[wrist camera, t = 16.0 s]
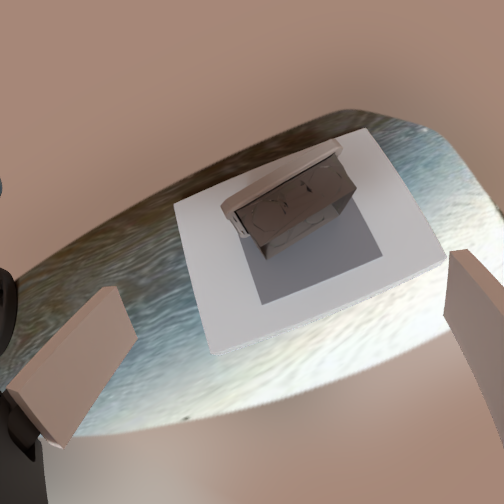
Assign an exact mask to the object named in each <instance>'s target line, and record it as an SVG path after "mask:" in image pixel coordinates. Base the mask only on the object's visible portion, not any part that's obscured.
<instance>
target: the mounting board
mask: <svg viewBox="0 0 504 504" xmlns="http://www.w3.org/2000/svg"><path fill="white" fill-rule="evenodd" d="M334 139H336V140H337V141H338V142H339V143H340V145H341V146H342V147H343V150H342V152H341V154H340V155H338V160H339V161H340V162H341V164H342V165H343V167H344V169H345V171H346V173H347V175H348V176H349V178H350V179H351V180H352V182H353V183H354V184H355V186H356V187H357V189H356V191H355V192H354V194H353V195H352V197H351V199H350V200H349V202H348V203H347V205H346V206H345V208H344V209H343V211H342V213H341V214H340V215H339V214H338V215H339V216H338V217H336V218H335V219H333V220H332V221H330V222H328V223H327V224H325V225H323V226H322V227H320V228H319V229H317V230H315V231H314V232H312V233H311V234H309V235H307V236H306V237H304V238H302V239H301V240H299V241H298V242H296V243H294V244H293V245H291V246H289V247H288V248H286V249H285V250H283V251H281V252H280V253H278V254H276V255H275V256H273V257H271V258H270V259H268V260H267V259H265V258H264V256H263V255H262V254H261V252H260V250H259V249H258V248H257V246H256V244H255V243H254V241H253V239H252V238H251V236H248V237H247V238H241V237H240V235H239V234H238V232H237V231H236V229H235V228H234V226H233V225H232V223H231V222H230V220H227V219H226V217H225V215H224V213H223V211H222V209H221V207H220V206H221V204H222V203H223V202H224V201H225V199H227V198H229V197H230V196H232V195H234V194H235V193H237V192H239V191H240V190H242V189H244V188H245V187H247V186H249V185H250V184H252V183H254V182H255V181H257V180H259V179H261V178H262V177H264V176H266V175H267V174H269V173H271V172H273V171H274V170H276V169H278V168H279V167H281V166H283V165H285V164H286V163H288V162H290V161H292V160H294V159H295V158H297V157H299V156H301V155H302V154H304V153H306V152H308V151H310V150H311V149H313V148H315V147H317V146H319V145H320V144H322V143H320V144H317V145H315V146H312V147H309V148H307V149H304V150H301V151H299V152H296V153H293V154H291V155H288V156H286V157H283V158H280V159H278V160H275V161H273V162H270V163H268V164H265V165H263V166H260V167H258V168H255V169H253V170H250V171H248V172H246V173H243V174H241V175H238V176H236V177H234V178H231V179H229V180H227V181H224V182H222V183H220V184H217V185H215V186H213V187H210V188H208V189H206V190H204V191H201V192H199V193H197V194H195V195H192V196H190V197H188V198H186V199H184V200H181V201H179V202H177V203H175V204H174V209H175V214H176V218H177V223H178V227H179V232H180V236H181V240H182V245H183V249H184V253H185V258H186V262H187V266H188V270H189V274H190V278H191V282H192V286H193V290H194V294H195V298H196V302H197V305H198V309H199V313H200V317H201V320H202V324H203V328H204V331H205V335H206V339H207V342H208V346H209V349H210V353H211V354H213V355H218V356H220V355H223V354H226V353H229V352H232V351H235V350H238V349H241V348H244V347H247V346H249V345H252V344H255V343H258V342H261V341H264V340H266V339H269V338H272V337H275V336H277V335H280V334H283V333H285V332H288V331H291V330H293V329H296V328H299V327H301V326H304V325H306V324H309V323H311V322H314V321H317V320H319V319H322V318H324V317H327V316H329V315H331V314H334V313H336V312H339V311H341V310H344V309H346V308H348V307H351V306H353V305H355V304H358V303H360V302H362V301H365V300H367V299H369V298H372V297H374V296H376V295H378V294H381V293H383V292H385V291H387V290H389V289H392V288H394V287H396V286H398V285H400V284H402V283H405V282H407V281H409V280H411V279H413V278H415V277H417V276H419V275H421V274H423V273H425V272H427V271H430V270H432V269H434V268H436V267H438V266H440V265H441V264H442V263H443V262H444V260H445V259H446V258H447V256H446V254H445V252H444V250H443V248H442V247H441V245H440V243H439V241H438V239H437V237H436V235H435V234H434V232H433V230H432V228H431V226H430V225H429V223H428V221H427V219H426V218H425V216H424V214H423V213H422V211H421V209H420V208H419V206H418V204H417V203H416V201H415V199H414V198H413V196H412V194H411V193H410V191H409V190H408V188H407V186H406V185H405V183H404V182H403V180H402V179H401V177H400V176H399V174H398V173H397V171H396V170H395V168H394V167H393V165H392V164H391V162H390V161H389V159H388V158H387V156H386V155H385V154H384V152H383V151H382V149H381V148H380V146H379V145H378V144H377V142H376V141H375V139H374V138H373V137H372V135H371V134H370V133H369V131H368V130H367V129H366V128H363V129H360V130H357V131H354V132H351V133H348V134H345V135H343V136H340V137H337V138H334ZM323 143H324V142H323ZM334 209H335V208H334ZM335 210H336V209H335ZM336 212H337V211H336ZM337 213H338V212H337ZM304 221H305V220H304ZM305 222H306V221H305ZM314 224H315V223H314ZM312 225H313V224H312ZM288 232H289V231H288Z"/></svg>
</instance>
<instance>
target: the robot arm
mask: <svg viewBox="0 0 504 504" xmlns="http://www.w3.org/2000/svg"><path fill="white" fill-rule="evenodd" d="M1 193H2V182H1V179H0V196H1ZM16 308H17V295H16V287H15V283H14V280H13V278H12V276H11V274H10V273H9V272H8V271H6V270H4V269H2V268H0V356H1V355H2V353H3V352H4V351H5V349H6V347H7V345H8V343H9V341H10V338H11V335H12V332H13V328H14V323H15V317H16ZM443 316H444V318H445V319H446V321H447V323H448V325H449V327H450V329H451V330H452V332H453V334H454V336H455V338H456V340H457V342H458V344H459V345H460V348H461V350H462V352H463V354H464V355H465V358H466V360H467V362H468V364H469V366H470V368H471V370H472V372H473V374H474V376H475V379H476V381H477V383H478V385H479V387H480V390H481V392H482V394H483V396H484V399H485V401H486V403H487V406H488V408H489V410H490V413H491V415H492V418H493V420H494V423H495V425H496V428H497V431H498V433H499V436H500V439H501V441H502V444H503V447H504V287H503V286H502V285H501V284H500V283H499V282H498V280H497V279H496V278H495V277H494V276H493V275H492V274H491V273H490V272H489V271H488V270H487V269H486V268H485V267H484V266H483V265H482V264H481V262H480V261H479V260H478V259H477V258H476V257H475V256H474V255H473V254H472V253H471V252H470V251H469V250H468V249H464V250H457V251H450V255H449V269H448V280H447V290H446V299H445V307H444V314H443ZM137 339H138V338H137V336H136V333H135V331H134V329H133V327H132V324H131V322H130V319H129V317H128V315H127V312H126V310H125V307H124V305H123V302H122V300H121V297H120V295H119V292H118V290H117V287H116V286H110V287H102V288H101V289H100V290H99V291H98V292H97V293H96V294H95V295H94V296H93V297H92V298H91V299H90V300H89V301H88V302H87V303H86V304H85V305H84V306H83V307H82V308H81V309H80V310H79V311H78V312H77V313H76V314H75V315H74V316H73V317H72V318H71V319H70V320H69V321H68V322H67V323H66V324H65V325H64V326H63V327H62V328H61V329H60V330H59V331H58V332H57V333H56V334H55V335H54V336H53V337H52V338H51V339H50V340H49V341H48V342H47V343H46V344H45V345H44V346H43V347H42V348H41V349H40V350H39V351H38V353H37V354H36V355H35V356H34V357H33V358H32V359H31V360H30V361H29V362H28V363H27V364H26V365H25V367H24V368H23V369H22V370H21V371H20V372H19V373H18V374H17V375H16V376H15V378H14V379H13V380H12V381H11V382H10V383H9V384H8V385H7V387H6V390H5V391H4V392H3V393H1V391H0V504H48V500H47V493H46V484H45V476H44V465H43V453H42V445H41V442H40V441H39V440H38V436H39V435H40V433H41V435H42V436H43V437H44V438H45V439H46V440H47V441H48V443H49V444H51V445H53V446H56V447H58V448H61V449H64V448H65V447H66V445H67V443H68V442H69V441H70V439H71V437H72V436H73V434H74V433H75V431H76V430H77V428H78V427H79V425H80V423H81V422H82V420H83V419H84V417H85V416H86V414H87V413H88V411H89V410H90V408H91V407H92V405H93V404H94V402H95V401H96V399H97V398H98V396H99V395H100V393H101V392H102V390H103V389H104V387H105V386H106V384H107V383H108V381H109V380H110V378H111V377H112V375H113V374H114V372H115V371H116V369H117V368H118V366H119V365H120V364H121V362H122V361H123V359H124V358H125V356H126V355H127V353H128V352H129V351H130V349H131V348H132V346H133V345H134V343H135V342H136V340H137Z"/></svg>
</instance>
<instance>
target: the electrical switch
mask: <svg viewBox="0 0 504 504" xmlns="http://www.w3.org/2000/svg"><path fill="white" fill-rule="evenodd" d="M342 150H343V147H342V146H341V145H340V143H339V142H338V141H337V140H336V139H330V140H328V141H326V142H324V143H322V144H320V145H319V146H317V147H315V148H313V149H311V150H310V151H308V152H306V153H304V154H302V155H301V156H299V157H297V158H295V159H294V160H292V161H290V162H288V163H286V164H285V165H283V166H281V167H279V168H278V169H276V170H274V171H273V172H271V173H269V174H267V175H266V176H264V177H262V178H261V179H259V180H257V181H255V182H254V183H252V184H250V185H249V186H247V187H245V188H244V189H242V190H240V191H239V192H237V193H235V194H234V195H232V196H230V197H229V198H227V199H225V201H224V202H223V203H222V204H221V206H220V207H221V209H222V211H223V213H224V215H225V217H226V219H227V220H230V222H231V223H232V225H233V226H234V228H235V229H236V231H237V232H238V234H239V235H240V237H241V238H247V237H248V236H251V238H252V239H253V241H254V243H255V244H256V246H257V248H258V249H259V250H260V252H261V254H262V255H263V256H264V258H265V259H267V260H268V259H270V258H271V257H273V256H275V255H276V254H278V253H280V252H281V251H283V250H285V249H286V248H288V247H289V246H291V245H293V244H294V243H296V242H298V241H299V240H301V239H302V238H304V237H306V236H307V235H309V234H311V233H312V232H314V231H315V230H317V229H319V228H320V227H322V226H323V225H325V224H327V223H328V222H330V221H332V220H333V219H335V218H336V217H338V216H339V215H340V214H341V213H342V211H343V209H344V208H345V206H346V205H347V203H348V202H349V200H350V199H351V197H352V195H353V194H354V192H355V191H356V189H357V187H356V186H355V184H354V183H353V182H352V180H351V179H350V178H349V176H348V175H347V173H346V171H345V169H344V167H343V165H342V164H341V162H340V161H339V160H338V155H340V154H341V152H342ZM334 208H335V209H336V210H335V209H334ZM336 211H337V212H338V213H337V212H336ZM338 214H339V215H338ZM304 220H305V221H306V222H305V221H304ZM314 223H315V224H314ZM312 224H313V225H312ZM288 231H289V232H288Z"/></svg>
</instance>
